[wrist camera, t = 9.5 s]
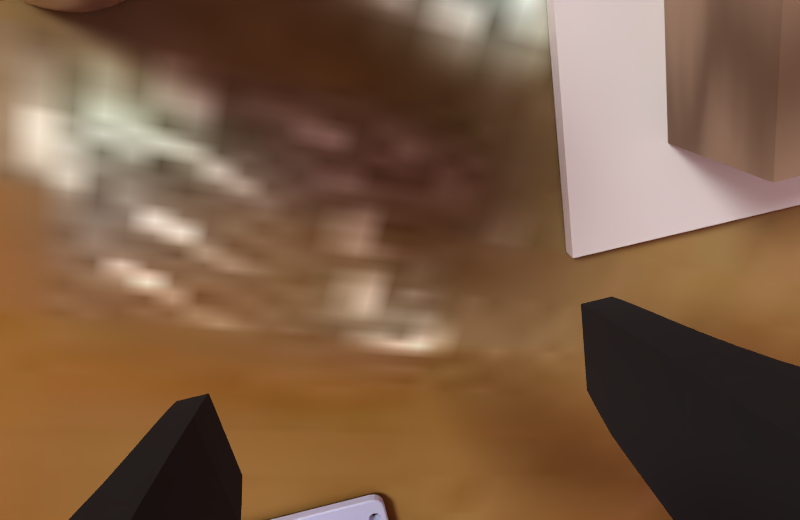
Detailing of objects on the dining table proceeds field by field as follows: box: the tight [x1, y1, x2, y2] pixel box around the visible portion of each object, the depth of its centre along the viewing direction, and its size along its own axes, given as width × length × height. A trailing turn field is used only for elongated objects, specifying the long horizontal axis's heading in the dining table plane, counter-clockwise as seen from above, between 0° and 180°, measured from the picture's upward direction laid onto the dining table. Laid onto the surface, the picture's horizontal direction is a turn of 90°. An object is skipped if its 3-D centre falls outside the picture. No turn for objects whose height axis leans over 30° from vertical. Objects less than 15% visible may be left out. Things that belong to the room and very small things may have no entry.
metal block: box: [664, 0, 800, 183], centre depth 17 cm, size 5×5×5 cm
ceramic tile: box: [546, 0, 800, 258], centre depth 19 cm, size 12×12×1 cm
